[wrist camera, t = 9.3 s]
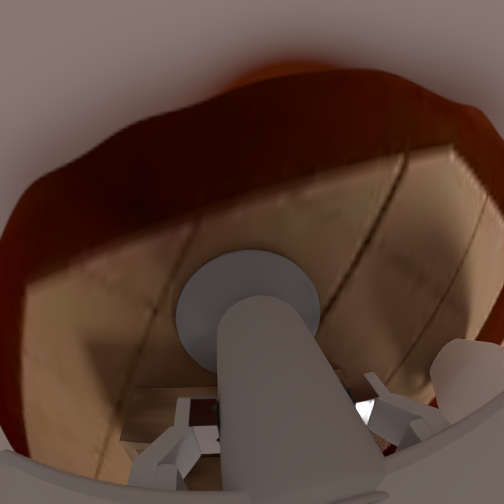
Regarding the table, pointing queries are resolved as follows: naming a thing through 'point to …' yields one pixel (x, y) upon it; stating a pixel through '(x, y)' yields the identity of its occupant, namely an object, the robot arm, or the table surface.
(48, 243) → the table surface
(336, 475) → the beverage can
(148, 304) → the table surface
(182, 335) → the slate coaster
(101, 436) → the table surface
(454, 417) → the mug
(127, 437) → the box
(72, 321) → the table surface
